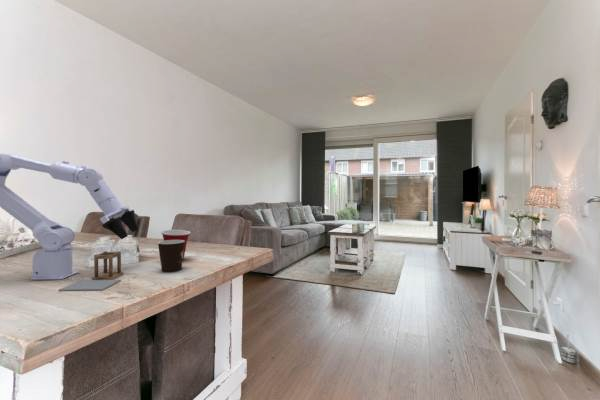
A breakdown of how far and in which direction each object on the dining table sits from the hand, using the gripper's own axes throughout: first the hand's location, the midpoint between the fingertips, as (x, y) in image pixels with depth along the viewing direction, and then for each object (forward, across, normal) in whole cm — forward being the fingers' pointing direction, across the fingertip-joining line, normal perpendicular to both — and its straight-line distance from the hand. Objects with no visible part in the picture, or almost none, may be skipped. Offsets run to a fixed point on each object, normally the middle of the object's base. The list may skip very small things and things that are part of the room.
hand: (130, 234), depth 98 cm
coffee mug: (+18, -1, -6) cm, 20 cm away
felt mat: (+7, -18, +8) cm, 21 cm away
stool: (+8, -11, +8) cm, 16 cm away
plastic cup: (+18, +11, -2) cm, 21 cm away
